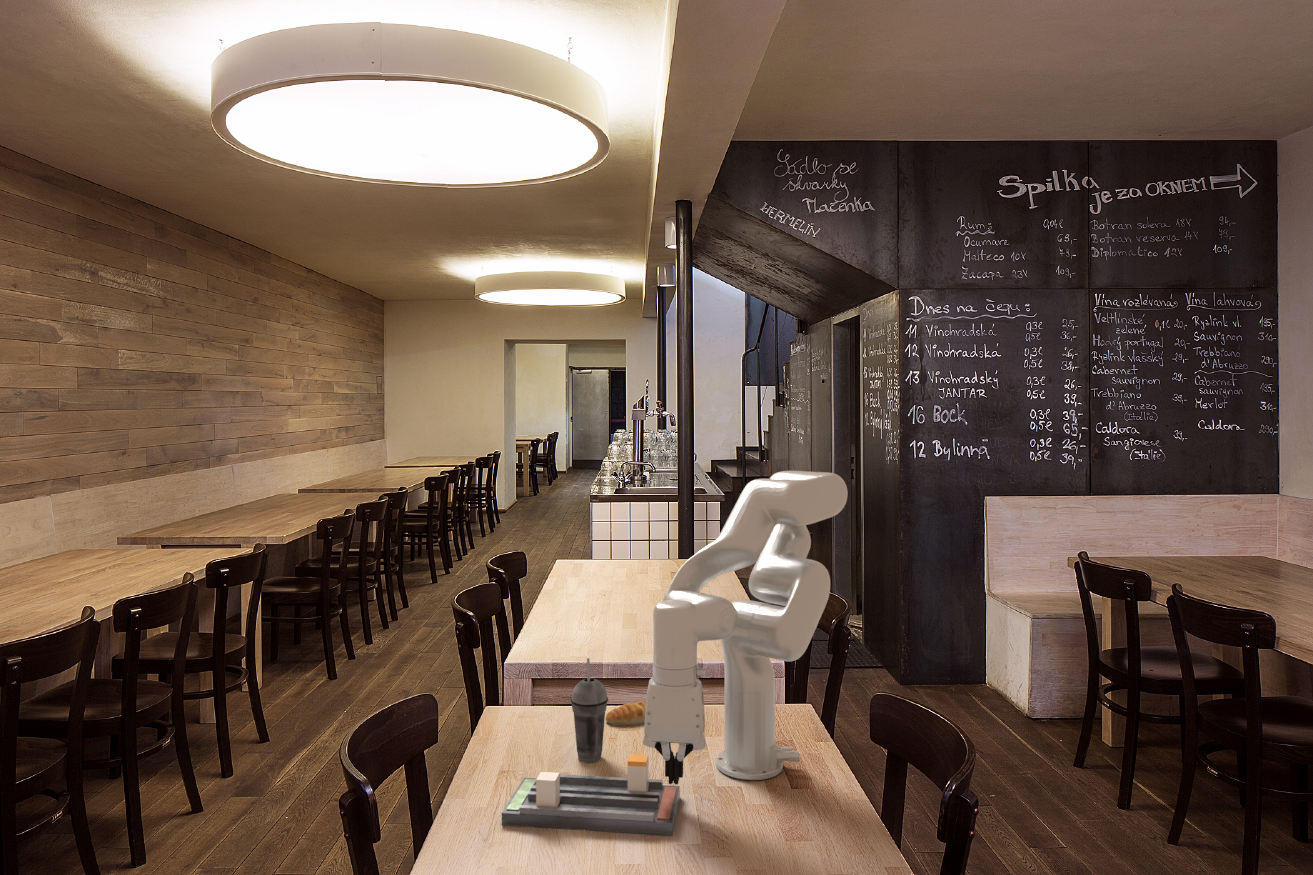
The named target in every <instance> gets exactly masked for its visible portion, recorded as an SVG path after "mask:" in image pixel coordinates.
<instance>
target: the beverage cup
mask: <svg viewBox="0 0 1313 875" xmlns="http://www.w3.org/2000/svg"><path fill="white" fill-rule="evenodd" d="M590 660H591V659H590V658H589V657H588V658H586V674H587V676H586V677H587V678H584V679H582V680H580V681H579V682H578V683H577V684H576V685H575V686H574V687H573V690H572V693H571V699H570V702H571V709H572V712H573V720H574V730H575V731H574V732H575V742H576V753H577V760H578V761H579V762H580V763H583V764H595V763H598V762H599V761H601V760H602V752H603V747H604V746H603V744H604V730H605V721H606V711H607V706H608V701H609V698H608V697H609V696H608V692H607V689H606V687H605V686H604V684H603V683H602V682H601V681H600V680H598V679H597V678H596V679H595V678H593V677H592V678H591V667H590V664H591V662H590Z"/></svg>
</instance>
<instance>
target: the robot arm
mask: <svg viewBox="0 0 1313 875" xmlns="http://www.w3.org/2000/svg"><path fill="white" fill-rule="evenodd" d="M848 495H849V494H848V487H847V484H846V482H845V481H844V479H843V478H842V477H841V476H840V475H838V474H836V473H834V472H826V471H825V472H822V471H809V470H808V471H805V470H803V471H802V470H783V471H777V472H775V473H773V474H772V475H771V476H770V477H769V478H755V479H753V480H751V481H749V482H748V483H746V485H745V487H744V488H743V490H742V491H741V493H740V495H739V496H738V499H737V501H736V502H735V505H734V506H733V508H732V510H731V512H730V514H729V515H728V517H727V519H726V521H725V524H724V525H723V527H722V529H721V531H720V533H719V535H718V537H717V538H716V539H715V540H713V541H712V542H709V544H707V545H706V546H704V547H703V548H701V549H700V550H698V551H697V552H695V554H694V555H692V556H691V557H689V558H688V559H687V560H686V561H685V562H684V563H683V564H681V566H680V567H679V568H678V569H677V571H676V573H675V575H674V576H673V577H672V580H671V581H670V584H669V586H668V587H667V590H666V592H665V594H664V596H663V599H662V601H659V602H657V603H656V604H655V606H654V608H653V614H652V615H653V618H652V620H653V621H652V622H653V624H652V626H653V627H652V628H653V630H652V631H653V632H652V633H653V634H652V636H653V637H652V639H653V640H652V646H653V648H652V654H653V655H652V677H651V678H650V679H649V681H648V686H647V691H646V696H645V697H646V699H645V704H646V707H645V723H643V724H644V729H643V730H644V737H643V741H642V745H644V746H645V747H649V748H652V749H656V751H657V752H658V753H659V754H660V755H661V756H662V759H663V760H664V777H666V778H668V785H672V784H674V785H676V786H679V785H678V784H679V781H680V778H682V779H683V778H684V760H685V758H686V757H687V756H688V755H690V753H692V751H698V750H699V751H700V750H703V749H705V748H706V744H707V743H706V737H705V734H704V733H705V730H706V728H705V726H706V724H705V722H706V721H705V720H706V718H705V716H706V715H705V714H706V713H705V699H704V698H705V697H704V691H703V683H702V681H701V680H700V679H699V678H701V677H703V678H705V677H706V668H702V667H700V666H699V665H698V643H699V642H707V641H710V642H712V641H719V640H720V641H721V642H720V643H721V647H722V651H723V652H722V654H723V665H724V666H723V668H724V669H723V670H724V722H723V723H724V724H723V725H724V726H723V727H724V743H723V744H724V749H723V750H724V751H722V752H720V753H719V754H718V755H717V757H716V760H715V761H716V764H715V765H716V767H717V768H716V769H718V770H719V771H720V772H721V773H722V774H725V775H726V776H729V777H731V778H734V779H738V780H745V781H746V780H747V781H762V780H767V779H771V778H774V777H776V776H777V775H779V774H780V773H781V772H782V771H783V768H784V762H790V763H791V762H792V763H799V762H800V751H799V750H798V751H797V750H793V747H792V746H781V745H779V744H777V738H776V734H775V733H776V732H775V731H776V729H775V728H776V724H775V722H776V720H775V719H776V716H775V715H776V714H775V713H776V712H775V711H776V709H775V708H776V707H775V706H776V705H775V704H776V698H775V697H776V694H775V693H776V688H775V687H776V677H775V671H774V666H773V664H772V661H771V659H773V660H778V661H783V662H793V661H796V660H799V659H800V658H801V657H802V656H803V655H804V654H805V653H806V650H807V649H808V646H809V644H810V642H811V640H812V638H813V637H814V633H815V631H816V629H817V627H818V626H819V625H818V624H819V623H820V622H819V621H820V619H821V618H822V615H823V613H824V611H825V608H826V606H827V603H828V600H829V597H830V592H831V576H830V572H829V570H828V569H827V568H826V566H825V565H824V564H823V563H821V562H819V561H817V560H814V559H810V558H807V557H808V554H809V551H810V549H811V545H812V539H811V534H810V532H809V531H810V530H808V527H807V525H812V524H816V523H818V522H821V521H825V520H827V519H830V518H833V517H834V516H837V515H839V513H840V512H842V511H843V509H844V508H845V506H846V504H847V501H848ZM752 565H754V566H753V568H752V569H751V570H752V571H751V572H750V575H749V579H748V589H749V592H750V594H751V595H752V596H753V597H754V598H756V599H758V600H759V601H756V600H749V599H737V600H733V601H730V600H728V599H727V598H725V597H722V596H717V595H713V594H708V593H705V592H704V593H703V592H701V591H702V590H703V588H704V587H705V586H707V585H708V584H709V583H710V582H711V581H712V580H715V579H716V578H718V577H721V576H722V575H724V574H728V573H731V572H735V571H738V570H741V569H744V568H747V567H750V566H752ZM761 601H762V602H761ZM770 658H771V659H770ZM672 744H678V747H677V748H678V749H677V751H676V753H675V754H674V752H673V751H672Z"/></svg>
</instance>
